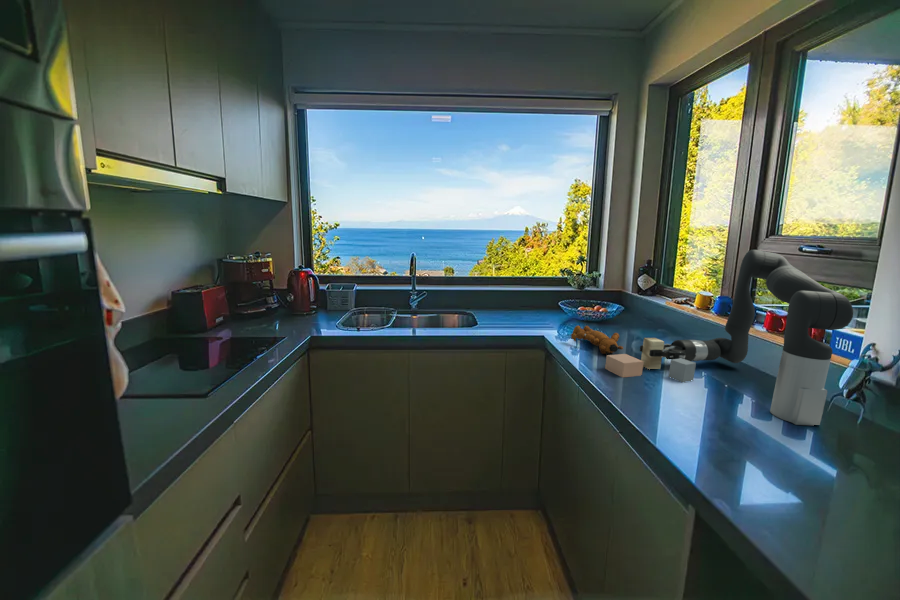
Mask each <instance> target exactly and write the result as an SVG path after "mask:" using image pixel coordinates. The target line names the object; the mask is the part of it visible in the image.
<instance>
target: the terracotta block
mask: <svg viewBox="0 0 900 600" xmlns="http://www.w3.org/2000/svg"><path fill="white" fill-rule="evenodd" d="M605 358H606V359H605V365H604V369H605V370H607V371H608V372H610V373H612V374H615V375H617V376H619V377H621V378H629V377H631V378H632V377H641V375H642V376H643V369H644V367H643V363H644V361H641V359H638V358H636V357H634V356H632V355H629V354H627V353H619V354H606V357H605Z"/></svg>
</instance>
